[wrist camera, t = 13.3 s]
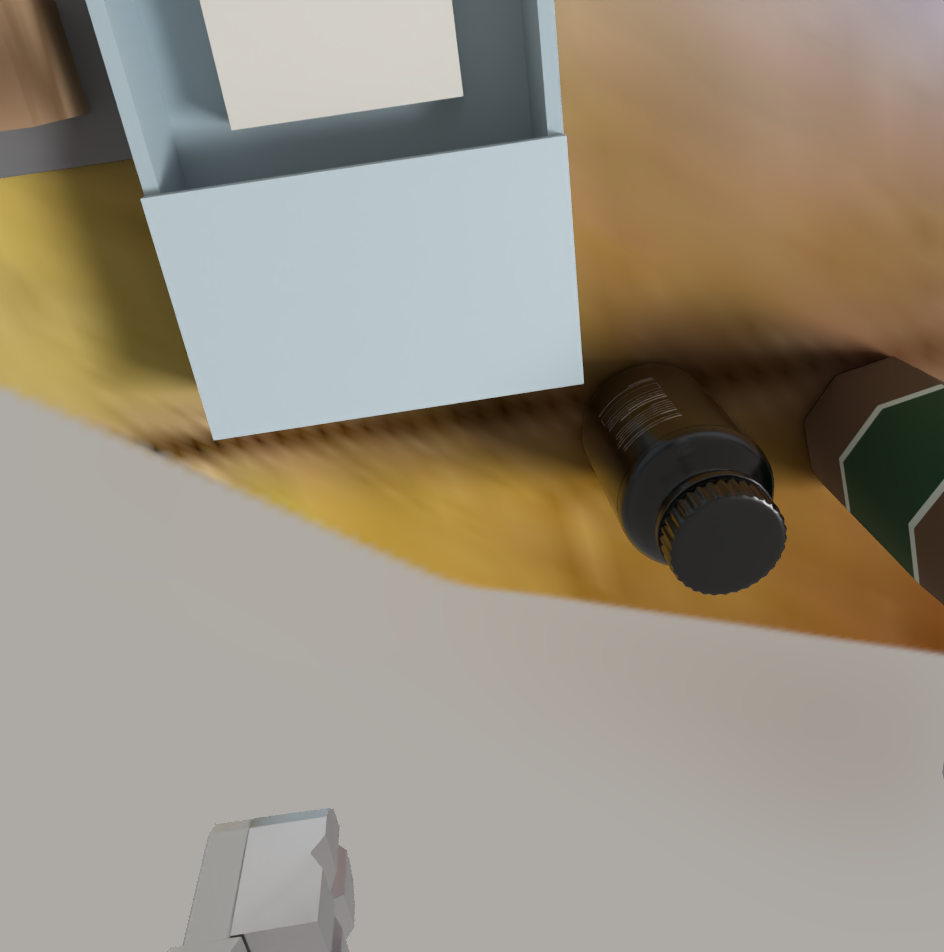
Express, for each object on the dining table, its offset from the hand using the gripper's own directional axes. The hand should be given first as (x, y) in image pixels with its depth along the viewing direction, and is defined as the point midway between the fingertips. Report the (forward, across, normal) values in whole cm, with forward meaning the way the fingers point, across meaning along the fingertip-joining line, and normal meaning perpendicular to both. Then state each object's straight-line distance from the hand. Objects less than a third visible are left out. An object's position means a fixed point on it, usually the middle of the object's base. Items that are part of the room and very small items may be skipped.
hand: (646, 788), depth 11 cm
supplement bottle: (+31, -8, +10) cm, 34 cm away
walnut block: (+31, +16, -10) cm, 36 cm away
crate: (+31, +4, -5) cm, 32 cm away
